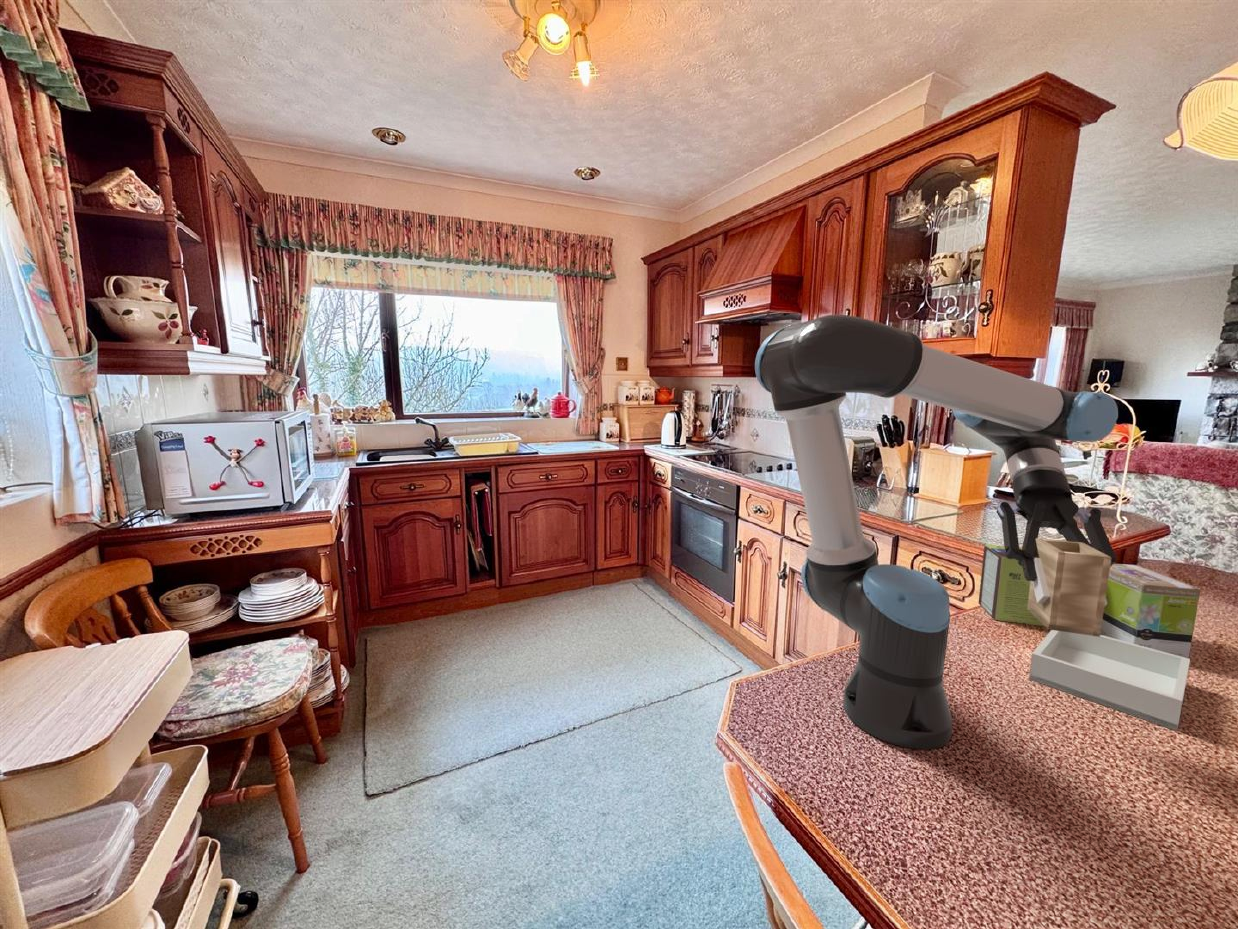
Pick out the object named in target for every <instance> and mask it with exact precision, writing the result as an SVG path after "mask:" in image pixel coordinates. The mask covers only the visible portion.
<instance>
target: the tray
mask: <svg viewBox="0 0 1238 929" xmlns="http://www.w3.org/2000/svg"><path fill="white" fill-rule="evenodd" d="M1190 662H1191V658H1189V657H1188V658H1185V657H1181V656H1177V655H1174V654H1170V653H1166V652H1162V651H1159V650H1155V649H1151V648H1148V647H1144V646H1140V645H1137V644H1133V643H1129V642H1126V641H1122V640H1118V639H1114V638H1111V637H1107V636H1104V635H1103V634H1100V637H1098V636H1091V635H1084V634H1077V633H1070V632H1063V631H1056V630H1050V631H1049V632H1048V633H1047V635H1046V636H1045V638H1044V639H1042V641H1041V642H1040V643H1039V644H1038V646H1037V647H1036V648H1035V649H1034V651H1033V652H1032V653H1031V659H1030V666H1029V667H1030V668H1029V675H1028V680H1030V681H1033V682H1036V683H1039V684H1042V685H1043V686H1044V685H1045V686H1047V687H1050V688H1053V689H1056V690H1059V691H1062V692H1065V693H1067V694H1071V695H1074V696H1075V697H1079V698H1082V699H1085V700H1087V701H1090V702H1093V703H1096V704H1099V705H1102V706H1105V707H1107V708H1110V709H1113V710H1116V711H1119V712H1121V713H1124V714H1128V715H1130V716H1133V717H1136V718H1138V719H1142V720H1144V721H1147V722H1151V723H1153V724H1156V725H1158V726H1161V727H1163V728H1167V729H1169V730H1173V731H1176V732H1178V730H1179V723H1180V718H1181V711H1182V707H1183V704H1184V703H1183V701H1184V697H1185V691H1186V687H1187V679H1188V675H1189V669H1190Z"/></svg>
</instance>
